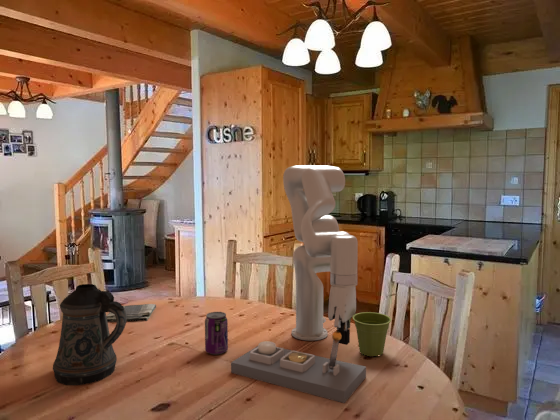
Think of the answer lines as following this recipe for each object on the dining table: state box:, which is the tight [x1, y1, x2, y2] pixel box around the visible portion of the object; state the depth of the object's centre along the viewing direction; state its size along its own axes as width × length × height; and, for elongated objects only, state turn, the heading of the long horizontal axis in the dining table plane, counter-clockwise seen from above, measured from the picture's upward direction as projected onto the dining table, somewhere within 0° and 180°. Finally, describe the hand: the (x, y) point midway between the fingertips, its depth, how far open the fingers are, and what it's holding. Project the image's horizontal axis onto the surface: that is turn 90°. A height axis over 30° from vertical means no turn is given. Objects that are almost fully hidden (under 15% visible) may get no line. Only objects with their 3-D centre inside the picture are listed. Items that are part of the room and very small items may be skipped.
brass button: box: [289, 351, 307, 364], centre depth 122 cm, size 5×5×2 cm
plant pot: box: [352, 311, 392, 357], centre depth 137 cm, size 12×12×11 cm
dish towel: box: [106, 303, 157, 323], centre depth 177 cm, size 19×18×3 cm
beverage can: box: [204, 311, 229, 356], centre depth 138 cm, size 7×7×12 cm
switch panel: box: [230, 345, 367, 404], centre depth 122 cm, size 16×34×5 cm, turn 60°
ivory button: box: [257, 340, 277, 355], centre depth 126 cm, size 5×5×2 cm
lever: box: [329, 330, 342, 370], centre depth 118 cm, size 3×3×10 cm
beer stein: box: [52, 283, 127, 386], centre depth 123 cm, size 16×19×25 cm
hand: (343, 342), depth 124 cm, fingers closed
